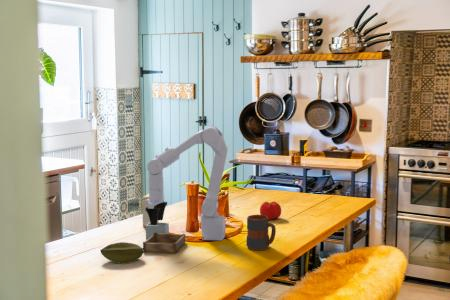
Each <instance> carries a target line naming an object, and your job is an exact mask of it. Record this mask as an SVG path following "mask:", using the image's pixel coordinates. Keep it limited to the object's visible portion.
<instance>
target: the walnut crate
mask: <svg viewBox="0 0 450 300" xmlns="http://www.w3.org/2000/svg"><path fill="white" fill-rule="evenodd" d="M185 245H186V233H182V234H181V233H179V234H177V233H169V234H158V233H154V234H153V235H152V236H151V237H149V238H148V239H145V241H143V242H142V248H143V249H144V250H143V253H145V254H146V253H148V254H150V253H151V254H152V253H153V254H169V255H176V254H177V253H178V252H179V251H180V250H181V249H182V248H183V247H184V246H185Z"/></svg>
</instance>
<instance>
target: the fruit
mask: <svg viewBox="0 0 450 300" xmlns="http://www.w3.org/2000/svg"><path fill="white" fill-rule="evenodd" d="M143 250H144V249H143V247H141V245H138V244H136V243H132V242H126V241H125V242H120V241H119V242H114V243H111V244H108V245H106V246H105V247H103V248H101V249H100V254H101V255H102V256H103V257H104V258H105V259H107V260H109V261H110V262H112V263H116V264H123V263H124V264H130V263H129V262H131V263H133V262H135V261H137V260H139V259H141V257H142V256H143V254H144V252H143Z"/></svg>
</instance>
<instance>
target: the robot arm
mask: <svg viewBox="0 0 450 300" xmlns="http://www.w3.org/2000/svg"><path fill="white" fill-rule="evenodd" d="M204 143H205V144H206V145H208V146H209V147H210V148H211V149H212V151H214V158H213V163H212V167H211V171H210V178H209V181H208V182H209V183H208V188H207V191H206V196H205V198H204V200H203V202H202V205H201V207H200V212H201V215H200V224H201V225H200V227H201V229H200V233H201V234H200V236H201V235H202V236H203V237H204V239H202V240H201V241H223V240H224V238H225V237H226V236H225V234H226V218H225V216H221V215H220V213H219V212H218V209H219V206H220V205H219V201H218V198H219V193H220V187H221V183H222V179H223V174H224V169H225V165H226V159H227V155H228V146H227V144H226V141H225V138H224V135H223V133H222V132H221V131H220V129H218V127H216V126H214V125H210V126H207V127H206V128H204V129H201V130H200V131H197V132H195V133H194V134H192V135H191V136H190V137H188V138H187V139H186V140H184V141H182V143H180V144H178V146H176V147H173V146H170V147H166V148H165V149H164V151H162V152H161V153H159V154H156V155H155V156H154V157H155V158H153V159H151V160H150V161H149V162H148V163H147V166H146V168H147V171H148V194H149V199H147V200H146V202H149V204H148V207H146V208H145V209H146V211H147V213H148V215H149V219H150V222H151V225H157V220H159V221H163V219H164V215H165V210H166V207H167V205H168V201H165V196H164V173H163V170H164V169H166V168H168V167H169V166H171V165H173V164H174V163H175V162H176V161H178V160H179V159H180V155H181V154H182V153H184V152H187V150H189V149H190V148H192V147H193V146H195V145H198V144H199V145H203V144H204Z"/></svg>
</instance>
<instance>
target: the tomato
mask: <svg viewBox="0 0 450 300" xmlns="http://www.w3.org/2000/svg"><path fill="white" fill-rule="evenodd" d="M281 214H282V207H281V205H280V203H278V202H277V201H275V200H274V201H270V202H269V201H264V202H263V203H262V204H260V208H259V215H265V216H267V217H268V221H271V220H272V221H273V220H274V219H275V220H276V219H279V218H280V217H281Z"/></svg>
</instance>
